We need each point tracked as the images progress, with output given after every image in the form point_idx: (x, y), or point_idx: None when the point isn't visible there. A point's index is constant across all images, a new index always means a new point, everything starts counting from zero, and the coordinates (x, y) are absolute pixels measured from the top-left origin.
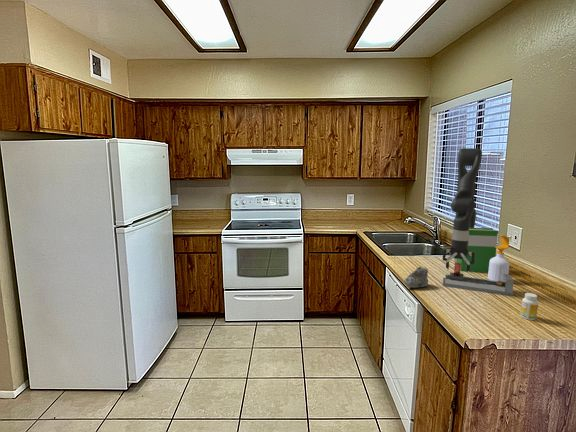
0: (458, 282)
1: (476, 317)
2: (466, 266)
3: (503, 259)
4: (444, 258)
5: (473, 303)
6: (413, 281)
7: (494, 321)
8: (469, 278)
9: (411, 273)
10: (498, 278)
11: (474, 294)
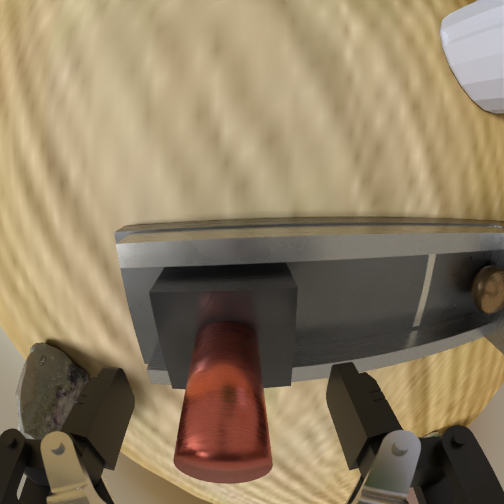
0: None
1: (295, 495)
2: (347, 426)
3: None
4: (49, 491)
5: (305, 457)
6: None
7: (332, 490)
8: (349, 256)
9: None
10: (500, 109)
11: None
